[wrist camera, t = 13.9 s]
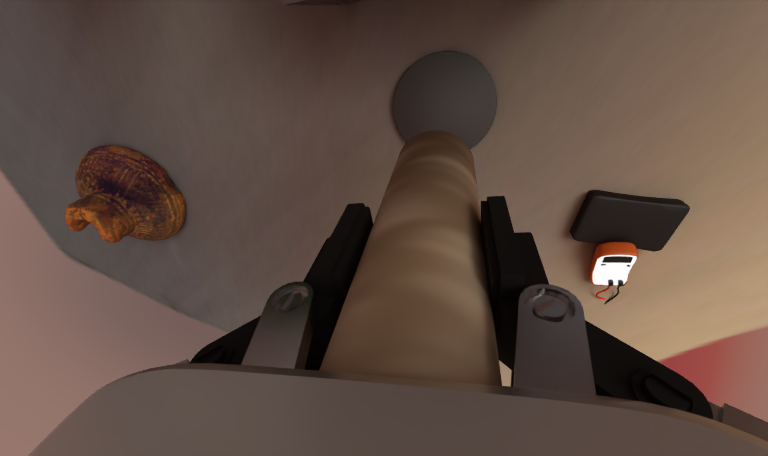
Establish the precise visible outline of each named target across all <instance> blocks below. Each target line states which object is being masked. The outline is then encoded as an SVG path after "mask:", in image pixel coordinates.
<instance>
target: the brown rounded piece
mask: <svg viewBox="0 0 768 456" xmlns="http://www.w3.org/2000/svg"><path fill="white" fill-rule="evenodd" d="M98 149H99V150H98ZM123 153H124V154H123ZM128 156H129V157H128ZM134 159H135V160H134ZM137 164H138V165H137ZM161 170H162V171H161ZM75 180H76V186H77V190H78V193H79V195H80V197H81V199H79V200H77V201H76V202H74V203H72V204H70V205H68V206H67V207H66V214H65V217H66V223H67V225H68V226H69V227H70V229H71V230H74V231H81V230H83V229H84V228H85V227H86V226H87V225H88V224H90V223H93V224H94V226H95V227H96V229H97V230H98V231H99V236H100V237H101V238H102V239H104V240H105V241H107V242H111V243H113V242H119V241H120V240H121V239H122V238H123V237H125V236H127V235H128V236H131V237H135V238H138V239H143V240H152V241H156V240H163V239H165V238H168V237H170V236H172V235H174V234H175V233H177V231H178V230H179V229H180V228H181V226H182V224H183V222H184V219H185V215H186V209H185V208H186V205H185V201H184V198H183V196H182V193H181V192H180V191H179V190H178V189H177V187H176V186H175V184H174V183H173V181H172V180H171V179H170V178H169V176H168V174H167V172H166V171H165V170H164V169H163V168H162V167H161V166H160V165H158V164H157V163H156V162H155V161H153V160H152V159H150V158H149V157H147V156H146V155H144V154H142V153H140V152H137V151H135V150H132V149H130V148H127V147H121V146H112V145H109V146H101V147H96V148H94V149H92V150H90V151H89V152H88V153H87V154H86V155H85V156H83V158H82V159H81V161H80V164H79V166H78V169H77V170H76V177H75ZM145 183H146V184H145ZM104 187H105V188H104ZM119 193H120V194H119ZM113 196H114V197H113ZM128 213H129V214H128ZM174 217H175V218H174Z"/></svg>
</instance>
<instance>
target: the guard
mask: <svg viewBox="0 0 768 456" xmlns="http://www.w3.org/2000/svg"><path fill="white" fill-rule="evenodd" d="M281 1H282V4H283V5H339V4H343V3H348V2H353V1H358V0H281Z"/></svg>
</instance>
